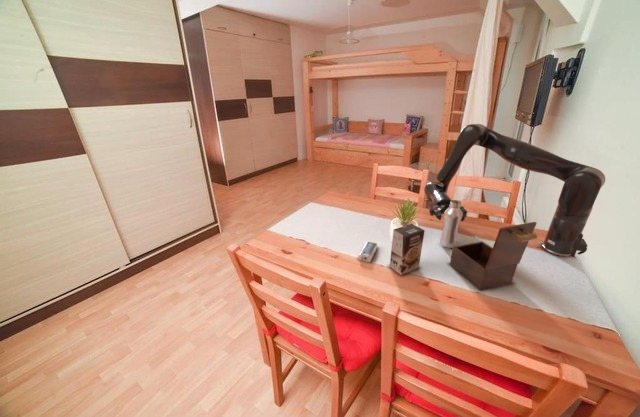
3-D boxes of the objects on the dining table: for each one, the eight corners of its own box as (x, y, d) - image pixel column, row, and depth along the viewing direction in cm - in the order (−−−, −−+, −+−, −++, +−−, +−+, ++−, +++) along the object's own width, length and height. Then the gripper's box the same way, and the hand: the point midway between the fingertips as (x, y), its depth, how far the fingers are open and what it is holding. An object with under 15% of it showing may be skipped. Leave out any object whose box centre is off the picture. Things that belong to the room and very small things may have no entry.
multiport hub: (377, 247, 110) (377, 243, 109) (369, 262, 101) (370, 257, 100) (366, 245, 112) (367, 241, 111) (359, 259, 103) (359, 254, 102)
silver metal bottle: (458, 250, 106) (467, 205, 98) (440, 249, 108) (448, 204, 99) (454, 242, 112) (463, 199, 104) (437, 241, 113) (444, 198, 105)
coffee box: (401, 275, 93) (405, 237, 87) (389, 266, 99) (392, 228, 92) (419, 267, 97) (425, 230, 90) (407, 259, 102) (411, 222, 96)
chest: (449, 264, 98) (453, 246, 95) (477, 258, 101) (482, 241, 98) (480, 290, 86) (485, 270, 82) (511, 282, 88) (517, 263, 85)
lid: (499, 227, 75) (514, 236, 71) (534, 221, 78) (550, 229, 74) (484, 269, 82) (497, 279, 78) (517, 262, 85) (530, 271, 81)
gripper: (427, 194, 121) (434, 209, 106) (460, 195, 118) (472, 211, 103) (425, 209, 124) (431, 225, 109) (457, 211, 121) (468, 227, 107)
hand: (451, 218), depth 106 cm, fingers open, 8 cm apart
